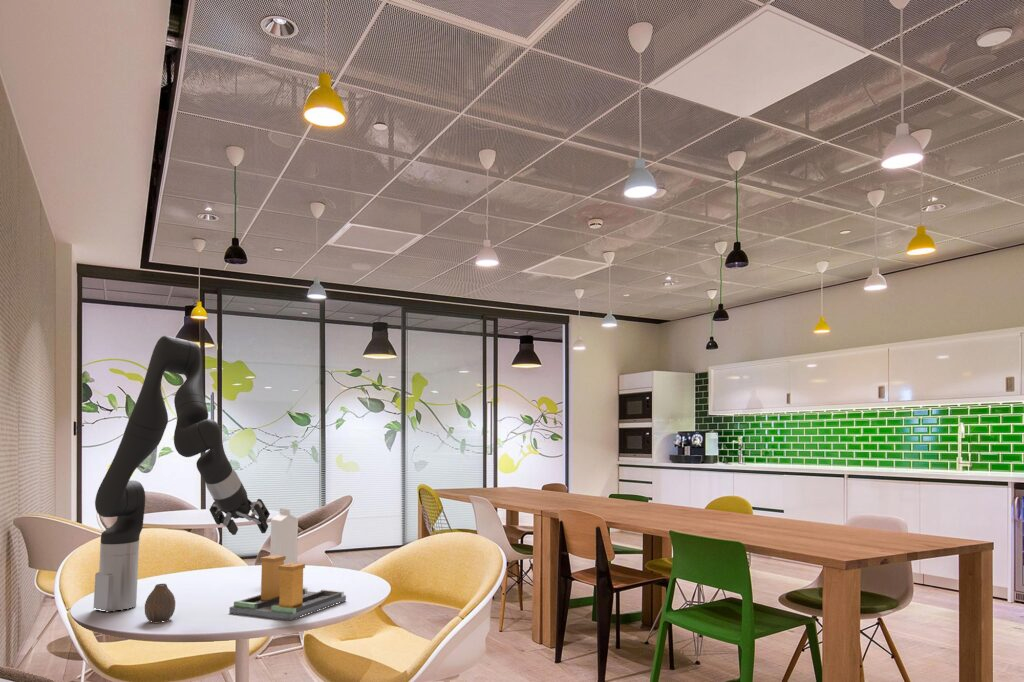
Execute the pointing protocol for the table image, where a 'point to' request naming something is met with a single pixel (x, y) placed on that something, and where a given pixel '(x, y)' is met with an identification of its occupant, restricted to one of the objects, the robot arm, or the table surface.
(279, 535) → the milk
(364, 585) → the table surface
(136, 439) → the robot arm
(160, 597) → the vase
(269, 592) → the orange capped square pillar
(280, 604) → the twin pillar base
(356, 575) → the table surface
